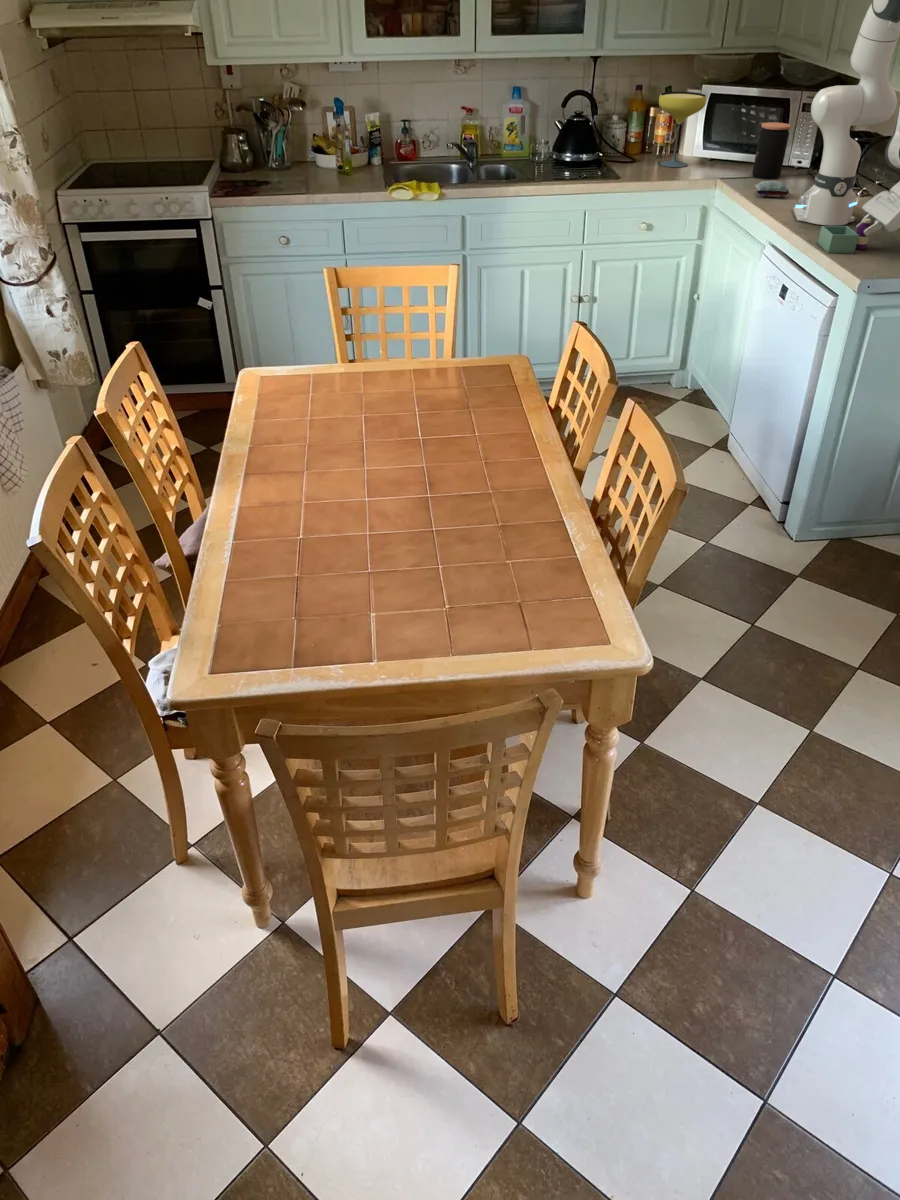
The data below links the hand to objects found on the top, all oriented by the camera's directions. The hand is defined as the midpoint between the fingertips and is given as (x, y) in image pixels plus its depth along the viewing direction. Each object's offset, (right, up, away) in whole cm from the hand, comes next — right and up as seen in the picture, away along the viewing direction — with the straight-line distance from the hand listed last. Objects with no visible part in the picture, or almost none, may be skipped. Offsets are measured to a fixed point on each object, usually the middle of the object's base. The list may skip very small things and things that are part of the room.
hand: (861, 231), depth 265 cm
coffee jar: (0, +55, +80) cm, 96 cm away
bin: (-6, -4, +3) cm, 8 cm away
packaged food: (-7, +36, +55) cm, 66 cm away
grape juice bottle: (+1, -3, +3) cm, 4 cm away
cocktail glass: (-32, +67, +97) cm, 122 cm away
